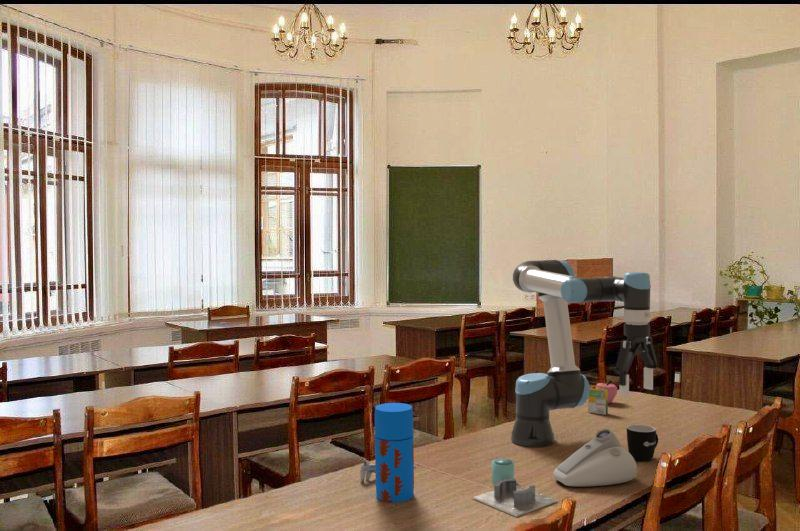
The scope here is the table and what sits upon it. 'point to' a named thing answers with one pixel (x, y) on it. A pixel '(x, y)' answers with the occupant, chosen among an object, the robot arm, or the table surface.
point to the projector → (598, 463)
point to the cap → (502, 469)
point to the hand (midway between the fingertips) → (636, 392)
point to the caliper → (368, 468)
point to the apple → (609, 390)
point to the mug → (641, 442)
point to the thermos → (394, 452)
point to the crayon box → (598, 400)
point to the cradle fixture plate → (514, 498)
